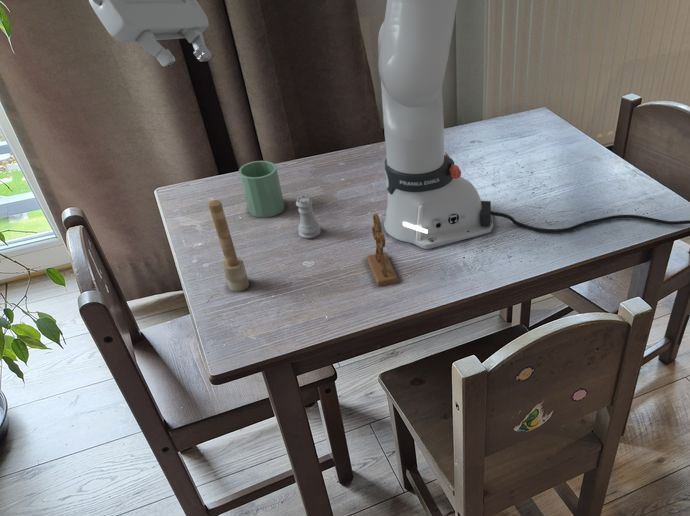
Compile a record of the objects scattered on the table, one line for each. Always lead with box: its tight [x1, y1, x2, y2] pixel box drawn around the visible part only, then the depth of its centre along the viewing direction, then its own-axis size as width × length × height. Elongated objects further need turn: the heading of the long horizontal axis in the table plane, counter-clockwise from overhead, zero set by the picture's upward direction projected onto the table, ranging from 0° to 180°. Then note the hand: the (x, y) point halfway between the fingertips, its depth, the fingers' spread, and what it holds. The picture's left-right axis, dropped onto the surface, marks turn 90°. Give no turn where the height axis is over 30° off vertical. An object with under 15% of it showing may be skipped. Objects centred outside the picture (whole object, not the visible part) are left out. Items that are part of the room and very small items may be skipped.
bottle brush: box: [208, 199, 250, 292], centre depth 110 cm, size 4×4×17 cm
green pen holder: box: [238, 160, 286, 218], centre depth 132 cm, size 7×7×9 cm
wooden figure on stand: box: [366, 213, 399, 287], centre depth 115 cm, size 9×4×12 cm, turn 20°
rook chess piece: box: [295, 194, 322, 240], centre depth 125 cm, size 4×4×8 cm
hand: (189, 61), depth 98 cm, fingers open, 8 cm apart
